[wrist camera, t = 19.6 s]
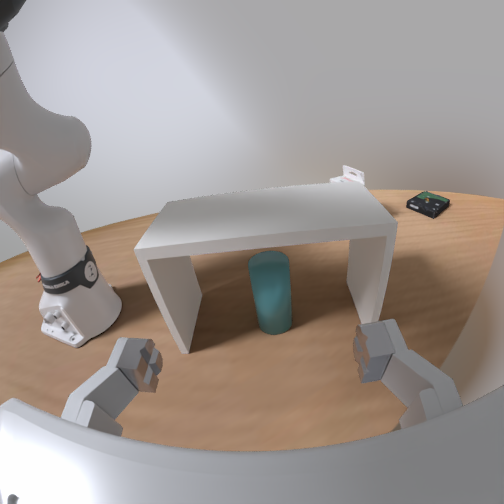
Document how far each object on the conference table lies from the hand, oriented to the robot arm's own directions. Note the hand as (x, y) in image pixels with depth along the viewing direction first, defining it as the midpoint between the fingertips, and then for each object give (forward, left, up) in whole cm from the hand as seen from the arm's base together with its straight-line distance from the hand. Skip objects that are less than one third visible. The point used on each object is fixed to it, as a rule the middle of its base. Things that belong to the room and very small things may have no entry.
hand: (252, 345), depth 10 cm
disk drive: (+51, +62, -26) cm, 84 cm away
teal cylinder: (0, +24, -25) cm, 35 cm away
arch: (0, +25, -25) cm, 35 cm away
